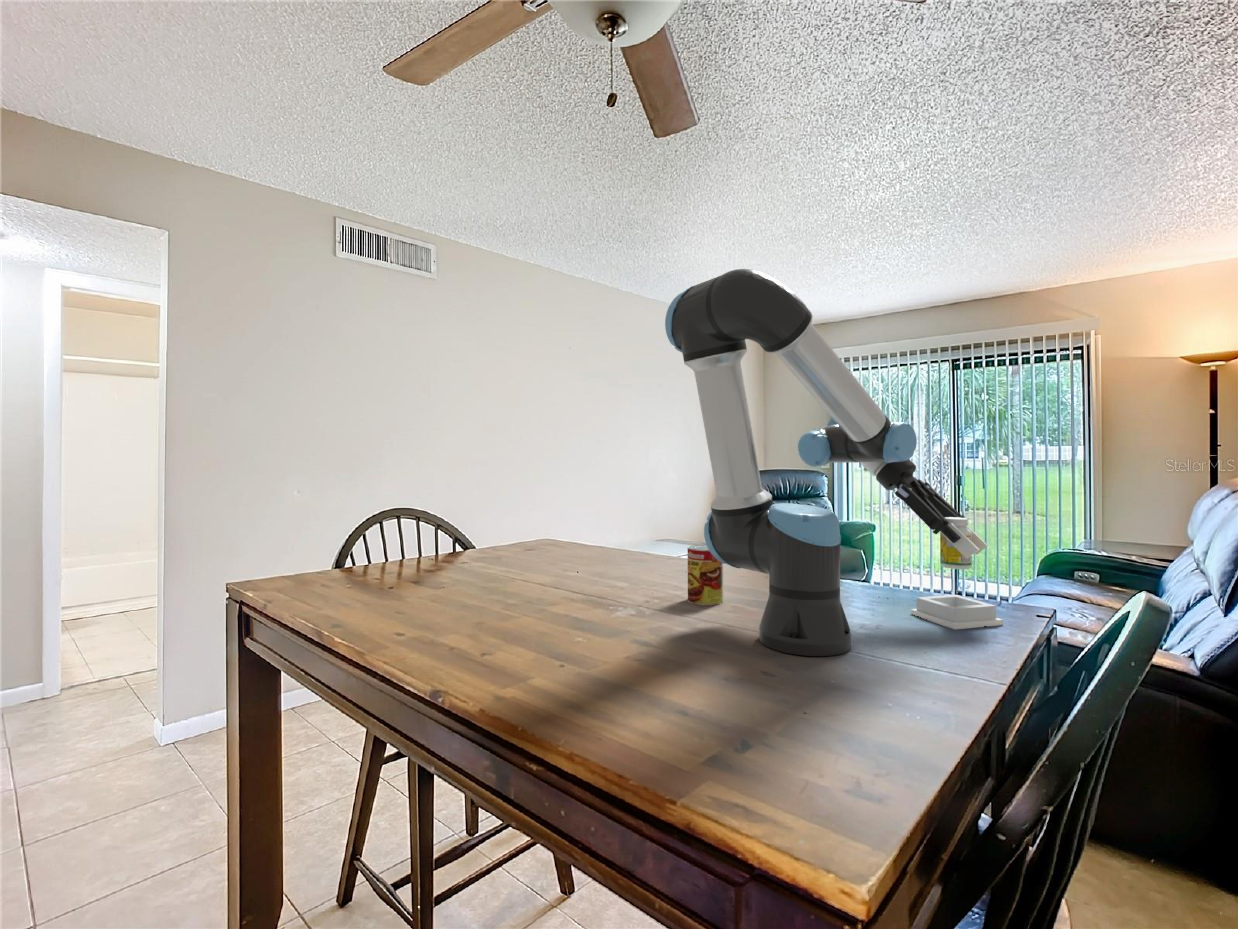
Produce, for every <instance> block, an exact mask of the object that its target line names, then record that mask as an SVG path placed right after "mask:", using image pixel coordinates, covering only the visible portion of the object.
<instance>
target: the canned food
mask: <svg viewBox="0 0 1238 929" xmlns="http://www.w3.org/2000/svg"><path fill="white" fill-rule="evenodd" d="M687 601H688V603H690V602H692V603H691V604H693V603H695V604H694V605H699V606H716V605H720V603H721V604H723V603H724V563H722V562H720V561H719V560H717V559H716V558H715V557H714V556H713V555H712V554H711V552H710V551H709V549H708V547H707V545H706V544H693V545H688V546H687ZM722 602H723V603H722Z"/></svg>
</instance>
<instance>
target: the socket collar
mask: <svg viewBox="0 0 1238 929" xmlns="http://www.w3.org/2000/svg"><path fill="white" fill-rule="evenodd" d="M912 614H913V615H912ZM910 615H912V616H914V615H915V617H917V616H919V617H918V618H920V617H921V619H922V620H926V619H927V620H926V621H929V622H932V623H935V624H938V625H941V626H943V627H946V628H949V629H951V630H964V629H965V630H966V629H973V628H974V629H975V628H985V627H984V626H987V627H995V626H996V627H997V626H1003V625H1004V619H1002V618H998V617H997V605H996V604H995V605H994V604H991V603H987V602H984V601H980V600H977V599H973V598H971V597H970V598H969V597H966V596H962V595H959V594H947V595H946V594H944V595H932V596H931V595H930V596H920V597H916V608H911V609H910Z"/></svg>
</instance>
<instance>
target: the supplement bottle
mask: <svg viewBox="0 0 1238 929" xmlns="http://www.w3.org/2000/svg"><path fill="white" fill-rule="evenodd" d="M945 519H946V520H947V521H948V522H949V524H951V523H953V524H954V525H955V526H956V527H957V528H958V529H959V530H960V531H961V532H962V533H963V534H964V535H965V536H966V537H967V538H968V539H969V540H970V541H971V542H972V532H971V531H970V530H969V529H966V526H968V525H969V523H968V522H969V519H968V518H966V517H965V518H959V517H945ZM949 524H948V525H949ZM968 527H969V526H968ZM939 536H940V537H939V538H940V539H939V540H940V545H939V546H940V549H939V550H940V552H939V553H940V555H939V556H940V566H941V567H943V568H946V569H950V570H970V569H972V567H973V555H972V556H970V557H969V558H968V559H966V558H965V557H964V556H963V555H962V554H961V553H960V552H959V551H958V550H957V549H956V548H955V547H954V546H953V545H952V544H951V543H950V542H949V541H948V540H947V539H946V538H945V537H944V536H943V535H942V534H941V533H940V532H939Z"/></svg>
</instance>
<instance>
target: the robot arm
mask: <svg viewBox="0 0 1238 929" xmlns="http://www.w3.org/2000/svg"><path fill="white" fill-rule="evenodd" d="M664 320H665V321H664V323H665V324H664V326H665V328H664V329H665V333H666V336H667V338H668V341H669V343H670V345H671V346H674V349H675V350H676V351H677V352H680V353H682V357H683V358H682V359H683V364H684V365H685V366H686V367H688V368H689V369H691V370H692V371H693V372H694V377H695V383H696V389H697V393H698V394H697V395H698V400H699V405H700V410H701V417H702V422H703V428H704V431H705V432H704V433H705V437H706V444H707V449H708V453H709V454H708V455H709V460H710V464H711V465H710V466H711V469H712V470H711V471H712V476H713V481H714V487H715V493H716V494H715V497H714V498H713V500H712V502H710V510H711V511H710V512H709V514H708V515H707V518H706V523H704V528H703V529H704V530H703V536H704V542H705V545H707V547H708V549H709V551H710V552H711V554H712V555H713V556H714V557H715V558H716V559H717V560H719V561H720V562H722V563H723V564H726V565H728V566H730V567H732V568H735V569H744V570H749V571H753V572H757V573H762V574H766V575H768V579H769V580H768V584H769V586H768V598H767V602H766V605H765V607H764V611H763V613H762V617H761V620H760V622H759V625H758V633H759V634H758V640H759V642H760V643H761V644H762V645H763V646H765V647H767V648H769V649H772V650H775V651H778V652H781V653H786V654H791V655H797V656H805V657H806V656H808V657H828V656H829V657H830V656H836V655H837V656H838V655H841V654H845V653H846V652H849V651H850V650H851V649H852V645H853V644H852V641H853V640H852V632H851V628H850V626H849V622H848V619H847V617H846V614H845V610H844V608H843V605H842V601H841V543H842V542H841V541H842V535H841V532H840V520H839V518H838V516H837V515H836V514H835V512H833V511H831V510H829V509H827V508H823V507H821V506H817V505H816V506H814V505H811V504H810V505H808V504H801V503H788V502H787V503H786V502H782V503H781V502H780V503H774V502H773V495H772V494H771V493H770V492H769V491H767V490H766V489H764V488H763V486H762V480H761V475H760V469H759V463H758V457H757V456H758V455H757V451H756V450H757V449H756V446H755V445H756V444H755V440H754V439H755V438H754V434H753V428H752V422H751V416H750V410H749V405H748V404H749V403H748V399H747V394H746V388H745V381H744V376H743V375H744V374H743V370H742V363H741V361H742V359H743V358H744V356H745V354H746V353H747V352H748V348H747V343H746V340H749V341H753V342H755V343H757V345H759V346H760V347H761V349H762V350H763V351H765V352H766V353H768V354H775V355H776V356H777V357H778V358H779V359H780V360H781V361H782V362H783V364H784V365H785V366H786V367H787V369H788V370H789V371H790V372H791V373H792V375H793V376H795V377H796V379H797V380H798V381H799V382H800V383H801V384H802V386H803V387H804V388H805V389H806V391H808V392H809V394H810V395H811V396H812V397H813V398H814V400H816V401H817V403H818V404H819V405H820V406H821V407H822V409H823V410H824V411H825V412H826V413H827V414H828V415H829V417H831V418H830V419H829V421H827V425H825V426H823V427H819V428H814V429H812V430H810V431H808V432H806V433H804V434H802V436H801V437H800V439H799V440H798V443H797V451H798V456H799V457H800V459H801V460H802V461H803V463H804V464H805V465H807V466H809V467H813V468H817V467H821V466H827V465H828V464H832V463H859V464H861V466H862V467H863V471H864V472H866V473H867V472H868V473H869V474H870V475H872V477H875V479H876V481H877V482H878V483H879V484H880V485H881V486H882V488H884V489H885V490H887V491H892V490H895V489H897V490H896V491H894V495H895V496H896V497H898V498H899V499H900V500H901V501H902V502H903V503H904V504H906V506H908V507H909V508H910V510H911V511H913V512H914V513H915V515H917V517H919V519H920V520H921V521H922V522H924V524H926V526H927V527H928V528H929V529H930V530H932V531H931V532H932V534H934V535H938V534H940V533H941V534H942V535H943V536H944V537H945V538H946V539H947V540H948V541H949V542H950V543H951V544H952V545H953V546H954V547H955V548H956V549H957V550H958V551H959V552H960V553H961V554H962V555H963V556H964V557H965V558H966V559H968V558H969V557H970V556H972V557H973V555H974V554H975V556H977V555H979V554H980V553H981V552H982V551H984V550H985V549H987V548H988V547H989V545H988V544H987V543H986V542H985V541H984V540H983V539H982V538H981V537H980V536H979V535H978V534H977V533H976V532H975V531H974V530H973V529H971V527H970V526H966V529H969V530H970V531H971V532H972V542H971V541H970V540H969V539H968V538H967V537H966V536H965V535H964V534H963V533H962V532H961V531H960V530H959V529H958V528H957V527H956V526H955V525H954V524H953V523H951V524H949V522H948V521H947V520H946V519H945V517H959V518H966V516H964V515H963V514H961V513H960V512H958V511H957V510H956V509H955V508H954V507H953V506H952V505H951V504H950V503H949V502H947V500H946V499H944V498H943V496H941V495H940V494H939V493H938V492H937V491H936V490H935V489H934V488H933V487H932V486H931V484H930V483H929V482H927V481H925V482H924V481H923V480H921V479H918V478H916V477H914V473H915V472H916V470H917V466H916V464H915V463H914V462H912V460H910V459H911V458H912V457H913V456H914V453H915V451H916V449H917V443H918V442H917V440H918V439H917V434H916V431H915V429H914V427H913V426H912V425H911V424H910V423H908V422H905V421H897V420H895V421H891V420H890V419H889V418H888V417H887V415H886V414H885V413H884V412H883V410H882V409H881V408H880V407H879V406H878V403H876V402H875V401H874V399H873V397H871V396H870V394H869V393H868V392H867V391H866V389H865V388H864V386H862V384H861V382H859V381H858V379H857V378H856V376H854V375H853V373H852V371H850V370H849V368H848V367H847V366H846V364H845V363H844V362H843V361H842V359H841V358H840V356H838V354H837V353H836V352H835V350H834V349H833V348H832V347H831V346H830V345H829V343H828V342H827V341H826V340H825V338H824V337H823V336H822V334H820V332H819V331H818V329H817V328H816V327H815V326H814V325H813V323H812V321H813V312H811V310H810V309H809V308H808V307H807V305H806V304H805V302H803V300H801V298H799V296H798V295H797V294H796V293H795V292H793V291H792V289H790V288H788V287H787V286H786V285H785V284H784V283H782V282H780V281H779V280H778V279H776V278H774V277H772V276H770V275H768V274H766V273H764V272H761V271H758V270H754V269H749V268H748V269H745V268H737V269H733V270H729V271H727V272H725V273H723V274H721V275H719V276H716V277H713V278H711V279H708V280H705V281H703V282H701V283H698V284H695V285H692V286H690V287H689V288H686V289H685V290H684V291H682V292H680V293H679V294H678V295H676V296H675V297H674V298H673V299H672V301H671V302H670V305H669V306H668V307H667V310H666V314H665V319H664ZM948 524H949V525H948Z"/></svg>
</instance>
